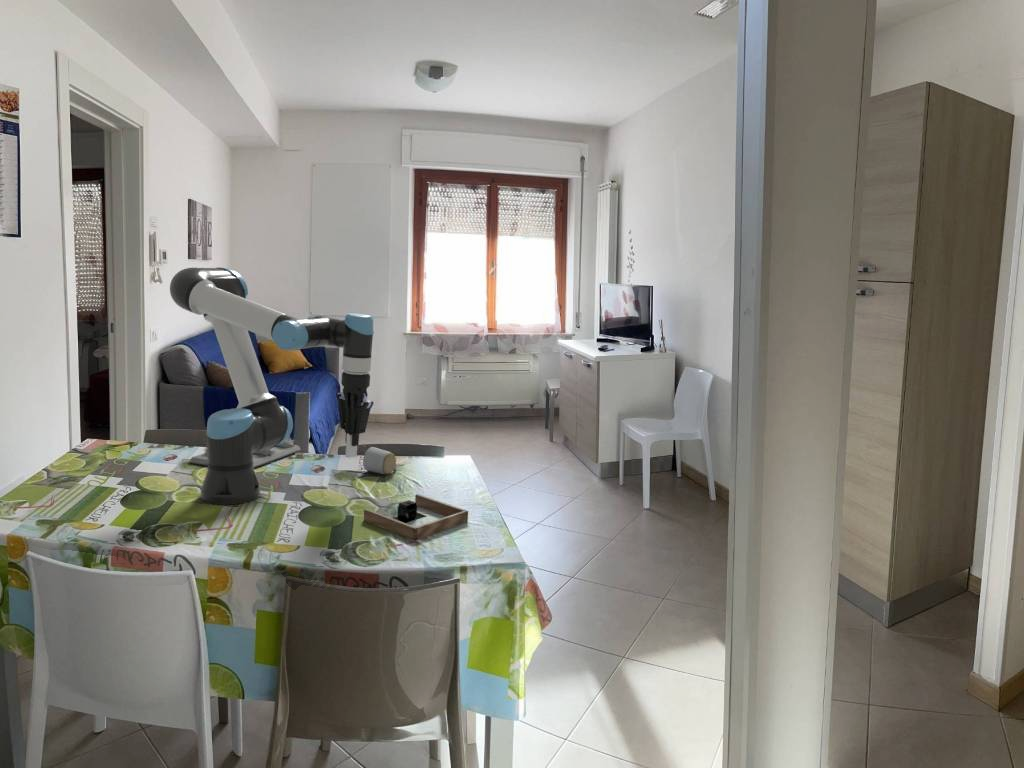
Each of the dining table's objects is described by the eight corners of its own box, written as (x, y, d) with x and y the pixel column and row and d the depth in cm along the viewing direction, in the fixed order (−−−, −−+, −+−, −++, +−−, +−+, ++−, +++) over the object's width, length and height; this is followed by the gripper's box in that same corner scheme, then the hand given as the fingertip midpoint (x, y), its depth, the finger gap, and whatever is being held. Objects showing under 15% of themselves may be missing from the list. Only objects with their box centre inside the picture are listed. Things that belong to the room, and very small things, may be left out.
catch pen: (414, 540, 179) (415, 528, 179) (363, 520, 191) (364, 509, 190) (467, 521, 194) (468, 510, 193) (417, 504, 205) (417, 494, 205)
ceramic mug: (383, 477, 228) (384, 453, 227) (362, 473, 232) (362, 449, 231) (403, 470, 238) (404, 447, 237) (381, 466, 241) (382, 443, 240)
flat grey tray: (250, 444, 260) (250, 424, 259) (302, 452, 253) (302, 432, 252) (187, 464, 232) (186, 442, 231) (244, 474, 225) (244, 452, 224)
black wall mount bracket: (398, 529, 188) (398, 511, 187) (379, 521, 192) (379, 504, 191) (433, 517, 197) (433, 500, 196) (414, 510, 202) (414, 494, 201)
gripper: (383, 375, 198) (377, 460, 202) (351, 366, 206) (346, 448, 210) (361, 377, 192) (355, 464, 196) (329, 368, 200) (325, 452, 204)
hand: (351, 456), depth 203 cm, fingers closed
